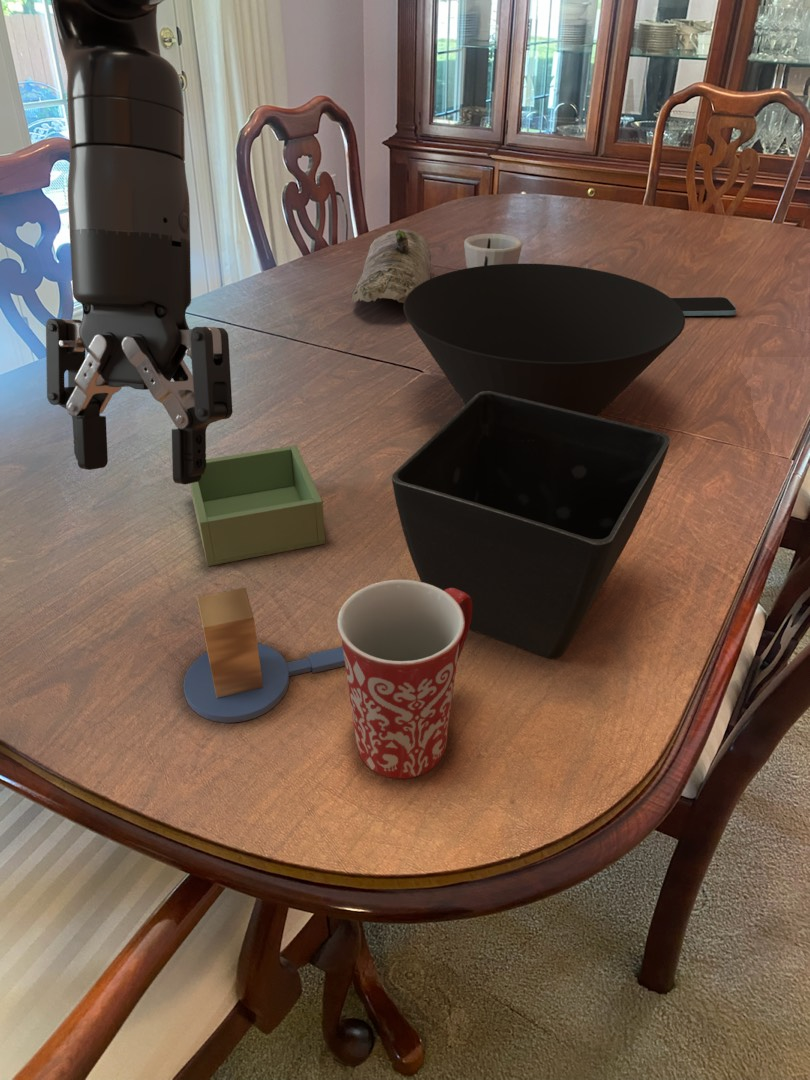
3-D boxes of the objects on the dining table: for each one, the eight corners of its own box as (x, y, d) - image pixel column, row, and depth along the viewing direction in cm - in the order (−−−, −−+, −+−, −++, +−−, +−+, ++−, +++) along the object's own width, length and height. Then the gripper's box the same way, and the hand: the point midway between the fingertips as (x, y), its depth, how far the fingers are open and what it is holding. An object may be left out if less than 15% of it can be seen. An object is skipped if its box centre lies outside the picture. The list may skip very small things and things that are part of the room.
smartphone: (642, 297, 148) (726, 296, 147) (642, 303, 148) (725, 302, 148) (651, 312, 142) (738, 310, 141) (650, 318, 143) (737, 316, 142)
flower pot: (580, 701, 69) (609, 542, 59) (388, 628, 77) (385, 476, 67) (642, 579, 83) (674, 433, 73) (473, 528, 90) (482, 388, 80)
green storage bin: (207, 566, 85) (199, 523, 81) (193, 503, 94) (185, 462, 91) (325, 543, 88) (322, 501, 85) (299, 485, 97) (296, 444, 94)
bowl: (514, 510, 93) (525, 389, 84) (355, 395, 117) (352, 292, 108) (719, 429, 109) (746, 320, 100) (542, 342, 133) (552, 249, 124)
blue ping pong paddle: (191, 734, 66) (189, 727, 66) (179, 660, 73) (178, 654, 73) (400, 683, 71) (400, 677, 71) (371, 618, 78) (370, 612, 78)
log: (349, 273, 133) (365, 204, 155) (347, 336, 141) (362, 262, 163) (433, 281, 133) (436, 212, 155) (426, 344, 141) (430, 269, 163)
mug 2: (462, 305, 147) (464, 249, 141) (460, 279, 159) (462, 226, 153) (520, 306, 147) (525, 250, 141) (514, 279, 159) (518, 226, 153)
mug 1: (405, 811, 60) (406, 683, 53) (321, 747, 65) (310, 620, 57) (506, 715, 68) (519, 590, 60) (424, 664, 73) (426, 542, 65)
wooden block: (216, 698, 68) (202, 627, 64) (210, 666, 72) (196, 596, 67) (263, 687, 70) (253, 617, 65) (255, 656, 73) (245, 587, 68)
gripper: (4, 224, 53) (22, 471, 57) (180, 223, 47) (185, 496, 51) (92, 238, 60) (102, 458, 64) (254, 238, 54) (254, 479, 58)
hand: (139, 475), depth 57 cm, fingers open, 8 cm apart
